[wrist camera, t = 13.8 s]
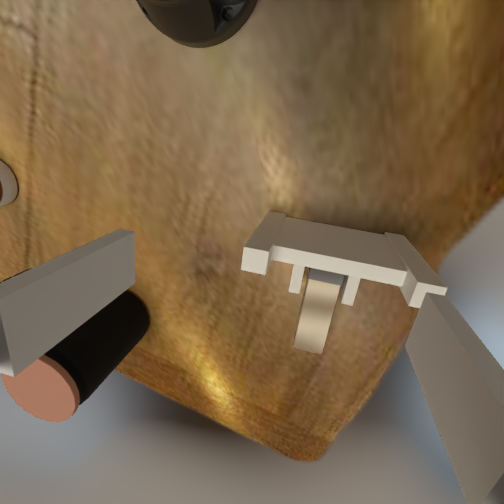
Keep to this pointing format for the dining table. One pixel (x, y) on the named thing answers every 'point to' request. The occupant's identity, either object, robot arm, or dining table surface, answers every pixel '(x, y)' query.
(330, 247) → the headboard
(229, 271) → the dining table surface
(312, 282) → the beige wooden block
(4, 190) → the milk bottle
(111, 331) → the coffee jar
